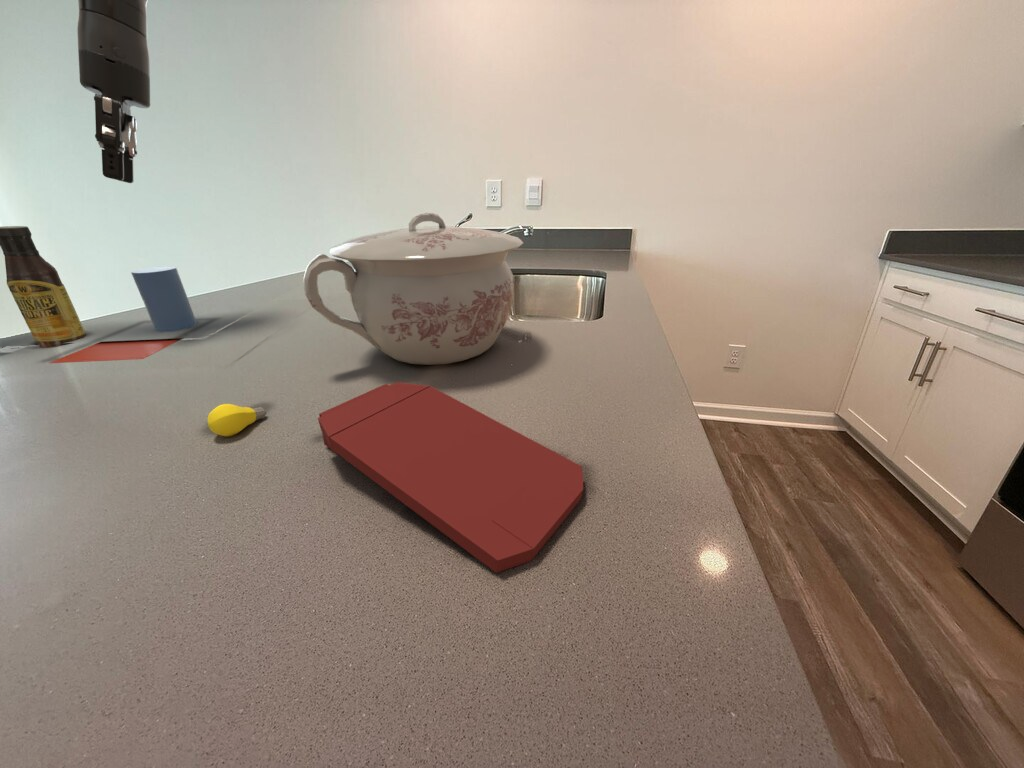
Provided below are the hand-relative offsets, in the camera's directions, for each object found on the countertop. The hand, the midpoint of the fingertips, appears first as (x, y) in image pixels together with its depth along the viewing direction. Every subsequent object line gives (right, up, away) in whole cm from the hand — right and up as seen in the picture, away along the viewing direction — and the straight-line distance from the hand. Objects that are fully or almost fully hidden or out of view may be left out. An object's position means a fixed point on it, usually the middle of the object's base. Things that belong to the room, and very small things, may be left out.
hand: (119, 180), depth 64 cm
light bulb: (+31, -37, -18) cm, 52 cm away
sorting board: (-4, -25, +9) cm, 27 cm away
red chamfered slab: (+55, -40, -25) cm, 73 cm away
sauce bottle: (-18, -25, +9) cm, 32 cm away
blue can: (-2, -21, +14) cm, 26 cm away
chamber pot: (+50, -26, +3) cm, 56 cm away
